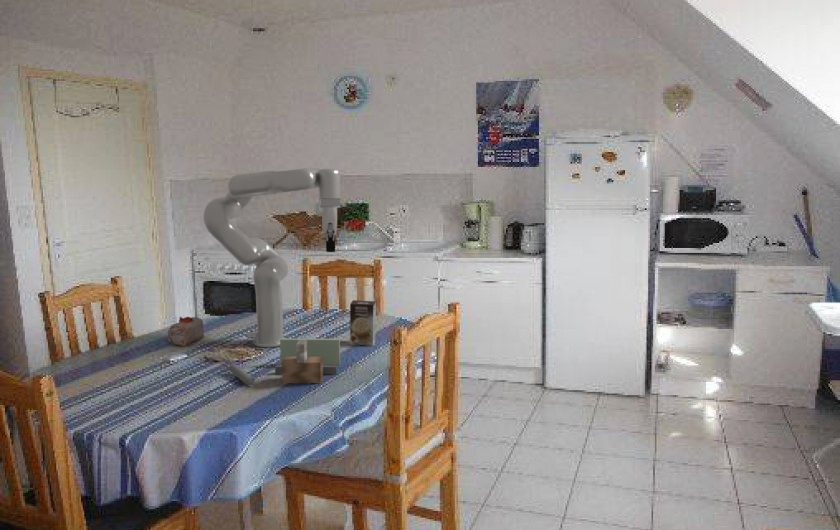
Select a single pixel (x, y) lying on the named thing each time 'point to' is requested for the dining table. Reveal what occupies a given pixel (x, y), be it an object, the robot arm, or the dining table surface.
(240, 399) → the dining table surface
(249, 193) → the robot arm
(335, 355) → the cleat board
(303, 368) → the walnut mallet
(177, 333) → the food item
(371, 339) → the coffee box
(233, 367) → the kitchen whisk
